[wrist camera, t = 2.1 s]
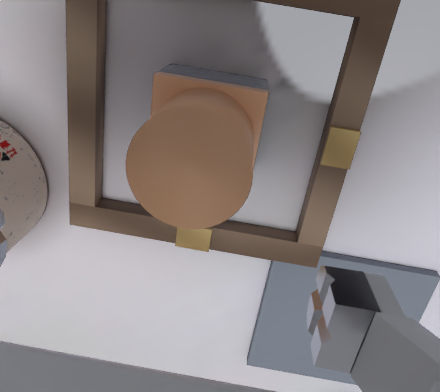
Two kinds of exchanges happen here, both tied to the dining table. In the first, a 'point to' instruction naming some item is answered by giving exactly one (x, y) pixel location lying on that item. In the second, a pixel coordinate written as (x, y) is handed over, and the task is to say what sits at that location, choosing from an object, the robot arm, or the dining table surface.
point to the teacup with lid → (19, 186)
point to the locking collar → (228, 230)
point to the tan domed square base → (196, 150)
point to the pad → (298, 304)
